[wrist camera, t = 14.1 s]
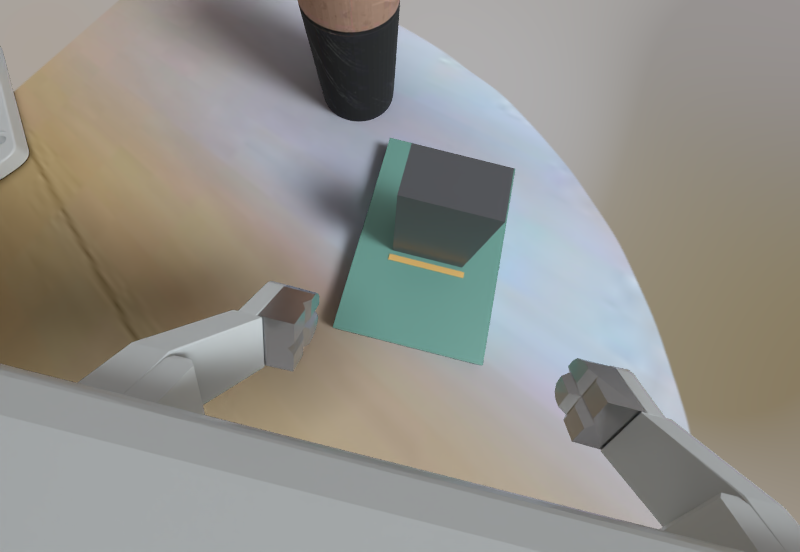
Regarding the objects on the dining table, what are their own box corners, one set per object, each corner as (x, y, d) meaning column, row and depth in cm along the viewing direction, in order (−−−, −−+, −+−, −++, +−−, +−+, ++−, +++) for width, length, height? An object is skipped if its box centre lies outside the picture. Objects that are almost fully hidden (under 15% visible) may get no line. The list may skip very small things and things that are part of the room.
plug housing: (392, 250, 24) (397, 195, 16) (402, 214, 25) (411, 143, 17) (462, 267, 24) (505, 222, 16) (469, 231, 25) (514, 168, 16)
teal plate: (335, 328, 24) (321, 322, 19) (389, 148, 29) (391, 102, 23) (476, 364, 24) (503, 368, 19) (508, 178, 28) (537, 138, 23)
